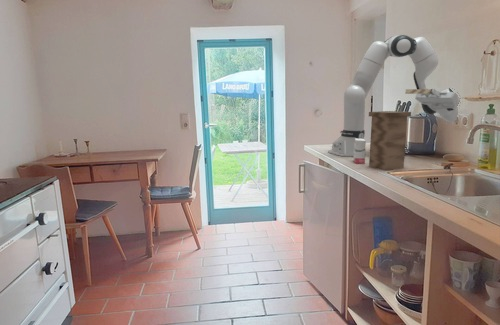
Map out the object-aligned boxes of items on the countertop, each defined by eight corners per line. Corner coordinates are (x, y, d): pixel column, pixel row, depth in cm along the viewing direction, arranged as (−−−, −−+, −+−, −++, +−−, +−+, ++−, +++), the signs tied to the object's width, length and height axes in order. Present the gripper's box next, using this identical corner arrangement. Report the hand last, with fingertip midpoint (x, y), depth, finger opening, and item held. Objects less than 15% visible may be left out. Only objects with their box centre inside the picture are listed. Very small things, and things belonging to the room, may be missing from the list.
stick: (409, 93, 166) (409, 89, 166) (405, 93, 168) (405, 89, 167) (434, 93, 176) (435, 89, 175) (431, 93, 177) (431, 89, 177)
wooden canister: (365, 166, 168) (368, 111, 163) (385, 163, 175) (389, 111, 170) (386, 171, 158) (390, 112, 153) (406, 167, 165) (411, 111, 160)
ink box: (364, 163, 175) (366, 140, 173) (354, 163, 176) (355, 140, 174) (363, 160, 183) (364, 138, 181) (353, 160, 184) (354, 138, 182)
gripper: (425, 98, 191) (412, 85, 183) (463, 98, 173) (451, 84, 166) (421, 108, 190) (407, 95, 183) (458, 109, 173) (445, 95, 166)
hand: (428, 90), depth 174 cm, fingers closed on stick, 2 cm apart
